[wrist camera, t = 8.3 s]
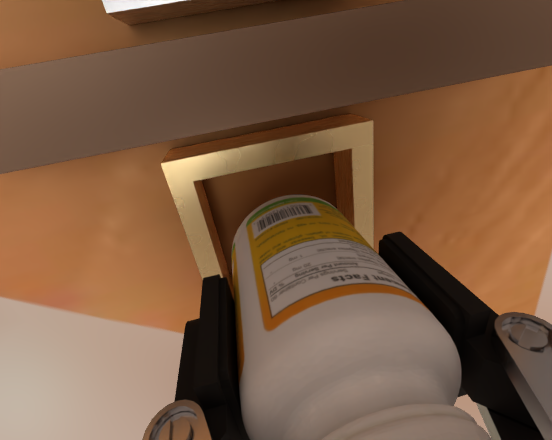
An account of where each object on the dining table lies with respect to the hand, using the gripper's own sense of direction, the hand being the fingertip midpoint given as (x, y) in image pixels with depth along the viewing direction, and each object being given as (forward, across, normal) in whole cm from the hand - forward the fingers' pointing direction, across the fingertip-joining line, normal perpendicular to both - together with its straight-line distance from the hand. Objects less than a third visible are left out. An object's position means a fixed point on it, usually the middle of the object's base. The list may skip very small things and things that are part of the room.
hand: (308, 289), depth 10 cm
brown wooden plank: (+7, 0, -7) cm, 10 cm away
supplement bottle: (+3, 0, 0) cm, 3 cm away
